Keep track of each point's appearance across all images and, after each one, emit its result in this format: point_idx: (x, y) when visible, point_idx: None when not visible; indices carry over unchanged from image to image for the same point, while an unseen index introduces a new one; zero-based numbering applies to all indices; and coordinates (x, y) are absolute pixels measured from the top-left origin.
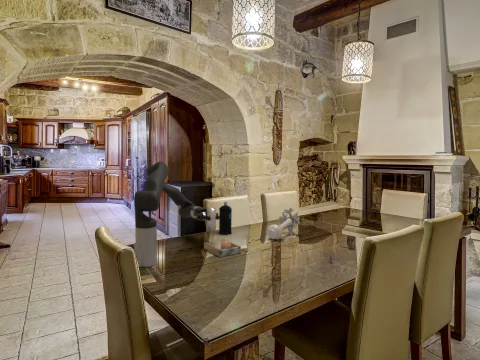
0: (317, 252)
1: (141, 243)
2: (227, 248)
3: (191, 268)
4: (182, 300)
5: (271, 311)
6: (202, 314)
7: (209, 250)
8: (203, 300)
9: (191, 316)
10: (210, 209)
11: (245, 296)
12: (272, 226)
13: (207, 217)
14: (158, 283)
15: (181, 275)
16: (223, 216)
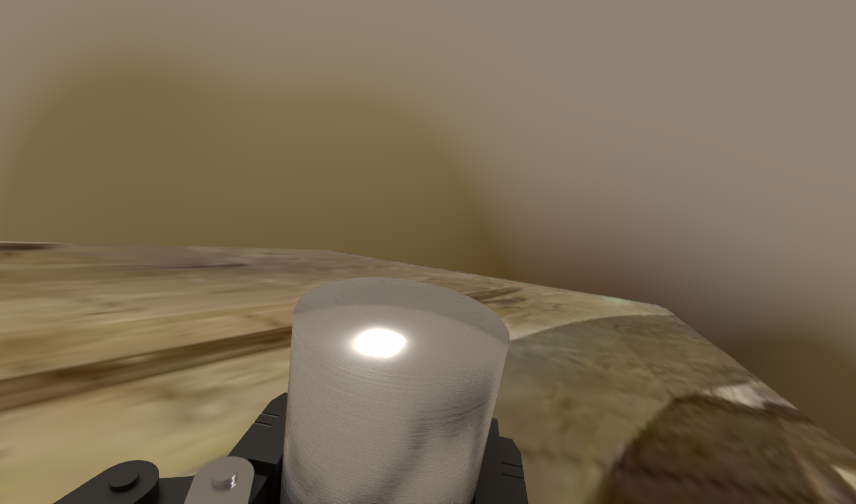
0: (131, 284)
1: None
2: None
3: (679, 469)
4: (706, 362)
5: (542, 286)
6: (662, 326)
7: None
8: (654, 342)
9: (683, 332)
10: (478, 309)
11: (559, 312)
12: None
13: (515, 447)
14: (816, 451)
15: (726, 447)
16: None
